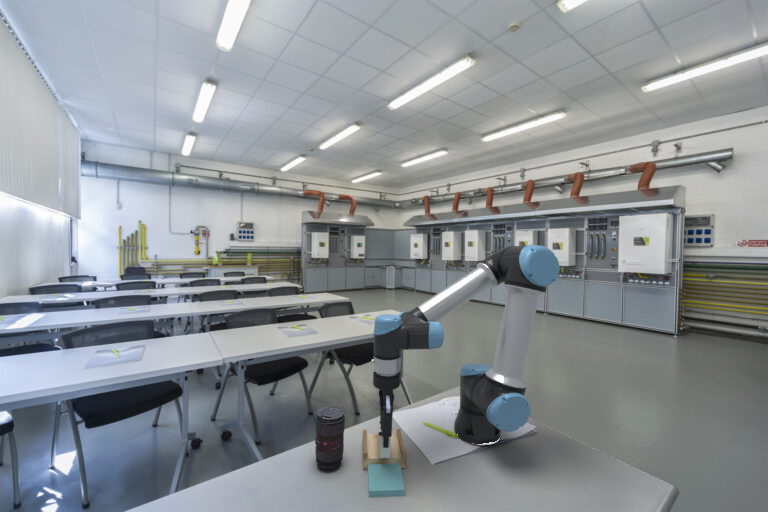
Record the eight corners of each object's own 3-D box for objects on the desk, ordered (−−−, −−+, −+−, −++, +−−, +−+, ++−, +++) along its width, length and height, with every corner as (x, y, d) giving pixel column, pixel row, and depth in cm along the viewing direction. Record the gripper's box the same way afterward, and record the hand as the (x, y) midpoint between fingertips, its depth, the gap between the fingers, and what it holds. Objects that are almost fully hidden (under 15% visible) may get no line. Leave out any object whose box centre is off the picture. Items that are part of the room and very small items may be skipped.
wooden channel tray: (399, 442, 101) (400, 428, 101) (405, 467, 89) (405, 452, 89) (362, 443, 100) (362, 429, 100) (363, 469, 88) (363, 453, 88)
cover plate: (399, 470, 89) (399, 463, 89) (404, 497, 79) (404, 489, 79) (367, 471, 88) (367, 464, 88) (368, 499, 78) (368, 491, 78)
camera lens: (338, 476, 85) (339, 421, 85) (310, 471, 87) (311, 417, 87) (347, 457, 93) (348, 407, 93) (321, 453, 95) (322, 403, 95)
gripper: (372, 363, 94) (370, 442, 94) (374, 380, 81) (372, 472, 81) (397, 363, 94) (395, 441, 94) (403, 380, 81) (401, 471, 81)
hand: (385, 456), depth 87 cm, fingers closed
